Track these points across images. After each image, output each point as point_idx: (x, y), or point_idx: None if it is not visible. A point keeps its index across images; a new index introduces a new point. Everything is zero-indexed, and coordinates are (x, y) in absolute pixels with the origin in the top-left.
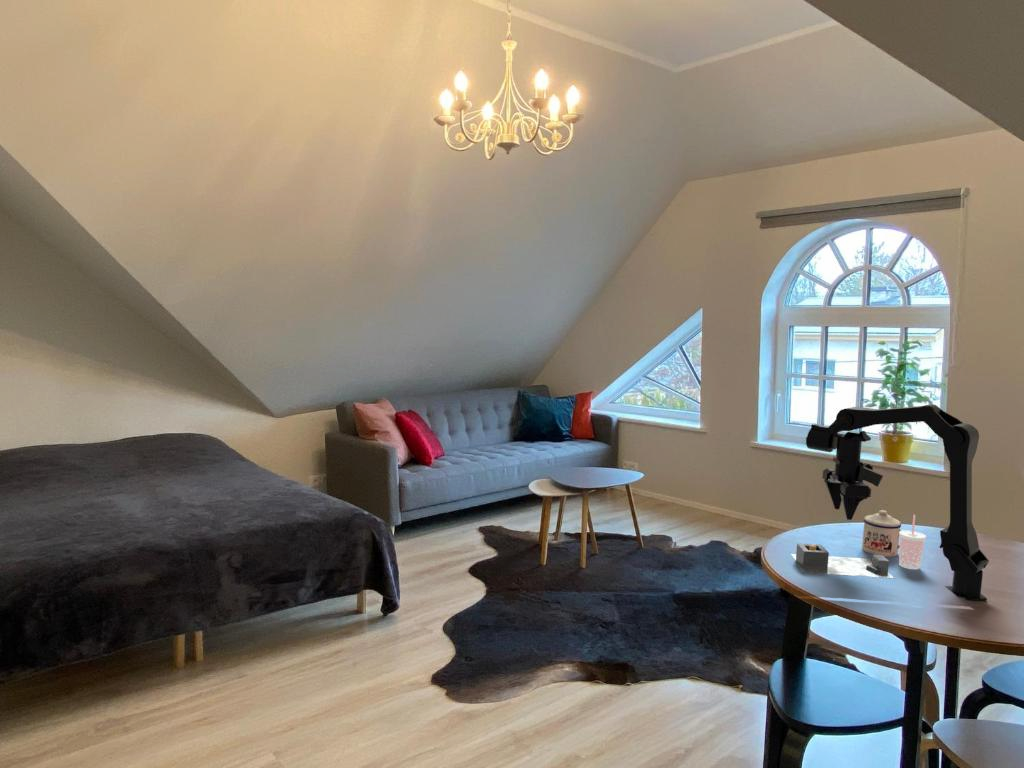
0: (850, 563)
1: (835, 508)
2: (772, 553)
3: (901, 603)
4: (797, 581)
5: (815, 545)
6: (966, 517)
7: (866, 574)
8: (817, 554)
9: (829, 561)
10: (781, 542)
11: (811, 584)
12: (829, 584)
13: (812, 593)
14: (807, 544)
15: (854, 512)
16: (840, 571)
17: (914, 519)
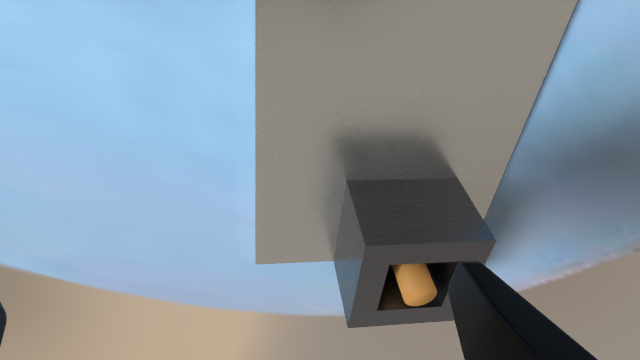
0: (370, 30)
1: (4, 323)
2: (231, 303)
3: None
4: (515, 275)
5: (379, 271)
6: None
7: (548, 5)
8: None
9: (341, 137)
10: (44, 258)
11: (550, 246)
12: (568, 195)
13: (614, 257)
14: (363, 297)
15: (571, 339)
16: (481, 128)
17: None
